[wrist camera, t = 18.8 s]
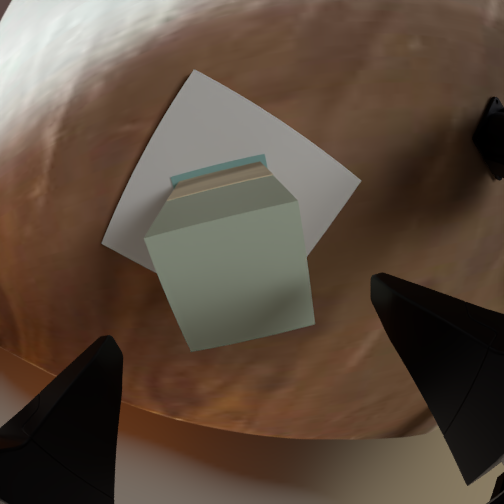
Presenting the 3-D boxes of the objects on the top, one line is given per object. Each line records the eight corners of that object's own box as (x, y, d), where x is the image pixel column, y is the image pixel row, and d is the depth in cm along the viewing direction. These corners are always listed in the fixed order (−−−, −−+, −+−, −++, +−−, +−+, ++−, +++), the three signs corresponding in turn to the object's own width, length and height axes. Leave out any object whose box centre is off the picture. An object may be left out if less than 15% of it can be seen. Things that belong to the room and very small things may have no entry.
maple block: (179, 181, 19) (166, 200, 14) (260, 161, 19) (273, 173, 14) (200, 254, 21) (196, 291, 17) (275, 236, 21) (290, 269, 17)
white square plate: (195, 71, 17) (194, 69, 16) (356, 178, 21) (362, 180, 20) (104, 239, 21) (100, 244, 20) (255, 315, 25) (257, 322, 24)
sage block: (166, 201, 14) (143, 238, 10) (273, 175, 14) (298, 200, 10) (196, 291, 17) (191, 351, 12) (290, 269, 17) (314, 324, 12)
